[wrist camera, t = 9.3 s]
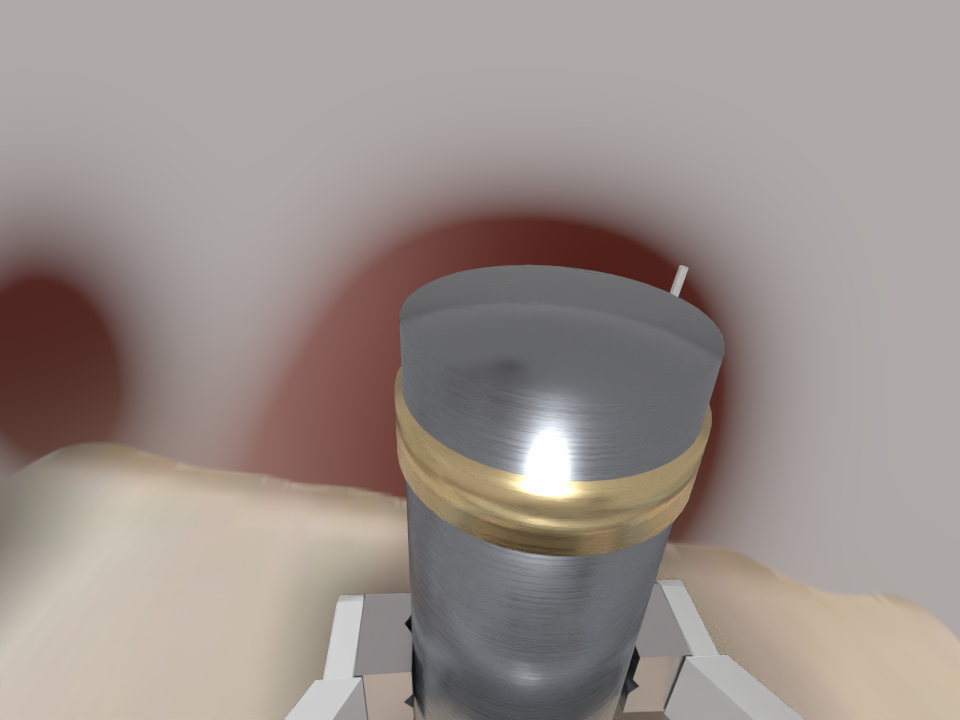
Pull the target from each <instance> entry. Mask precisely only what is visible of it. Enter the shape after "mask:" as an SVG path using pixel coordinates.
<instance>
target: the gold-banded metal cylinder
mask: <svg viewBox="0 0 960 720" xmlns="http://www.w3.org/2000/svg"><path fill="white" fill-rule="evenodd" d="M399 316H400V344H401V366H400V368H399V370H398V372H397V376H396V379H395V409H396V410H395V411H396V431H397V452H398V459H399V463H400V467H401V470H402V472H403V475H404V477H405V479H406V494H407V520H408V545H409V570H410V595H411V620H412V639H413V657H414V670H413V671H414V683H415V720H613V717H614V714H615V711H616V707H617V704H618V701H619V698H620V694H621V691H622V688H623V684H624V681H625V678H626V675H627V671H628V668H629V665H630V661H631V658H632V655H633V651H634V648H635V645H636V642H637V638H638V635H639V632H640V628H641V625H642V622H643V619H644V615H645V612H646V609H647V605H648V602H649V599H650V596H651V592H652V589H653V586H654V582H655V579H656V576H657V572H658V569H659V566H660V563H661V559H662V556H663V553H664V549H665V546H666V543H667V540H668V536H669V533H670V530H671V526H672V523H673V521H674V520H675V519H676V518H677V516H678V515H679V514H680V513H681V512H682V510H683V508H684V507H685V505H686V503H687V501H688V499H689V496H690V493H691V490H692V487H693V484H694V481H695V478H696V475H697V471H698V468H699V465H700V462H701V459H702V455H703V452H704V449H705V446H706V442H707V440H708V436H709V433H710V429H711V425H712V413H711V409H710V405H709V401H710V398H711V395H712V391H713V388H714V385H715V382H716V378H717V375H718V372H719V368H720V365H721V362H722V359H723V355H724V352H725V345H724V340H723V337H722V334H721V332H720V330H719V329H718V328H717V326H716V325H715V323H714V322H713V321H712V320H711V319H710V318H709V317H707V315H705V314H704V313H703V312H701V311H700V310H699V309H697V308H696V307H694V306H693V305H691V304H690V303H688V302H686V301H685V300H683V299H681V298H679V297H677V296H675V295H673V294H671V293H668V292H666V291H663V290H661V289H659V288H656V287H653V286H650V285H647V284H645V283H641V282H638V281H635V280H631V279H628V278H624V277H620V276H616V275H612V274H607V273H602V272H597V271H590V270H584V269H577V268H568V267H558V266H541V265H539V266H538V265H511V266H496V267H486V268H479V269H472V270H468V271H463V272H458V273H454V274H451V275H447V276H444V277H441V278H439V279H436V280H434V281H432V282H429V283H427V284H425V285H423V286H422V287H420V288H419V289H417V290H416V291H414V292H413V293H412V294H411V295H410V296H409V297H408V298H407V299H406V301H405V302H404V304H403V306H402V308H401V311H400V314H399Z"/></svg>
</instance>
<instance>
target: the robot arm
mask: <svg viewBox="0 0 960 720" xmlns="http://www.w3.org/2000/svg"><path fill="white" fill-rule="evenodd" d="M413 670H414V657H413V639H412V620H411V595H410V593H386V594H352V595H340V596H339V599H338V601H337V604H336V610H335V615H334V621H333V626H332V632H331V637H330V643H329V648H328V653H327V659H326V664H325V670H324V675H323V679H318V680H314V682H313V683H312V684H311V685H310V687H309V688H308V689H307V691H306V692H305V693H304V694H303V696H302V697H301V698H300V699H299V701H298V702H297V703H296V704H295V706H294V707H293V708H292V710H291V711H290V712H289V713H288V715H287V716H286V717H285V718H284V720H414V707H415V683H414V671H413ZM619 702H620V705H621V709H622V712H623V713H628V712H652V711H665V712H664V714H665V715H666V716H667V717H668V719H669V720H805V719H804V718H802V717H801V716H800V715H799V714H798V713H796V712H795V711H794V710H793V709H792V708H790V707H789V706H788V705H787V704H786V703H784V702H783V701H782V700H781V699H780V698H778V697H777V696H776V695H775V694H774V693H772V692H771V691H770V690H769V689H768V688H766V687H765V686H764V685H763V684H762V683H760V682H759V681H758V680H757V679H756V678H754V677H753V676H752V675H751V674H750V673H748V672H747V671H746V670H745V669H744V668H742V667H741V666H740V665H739V664H738V663H736V662H735V661H734V660H733V659H732V658H730V657H729V656H728V655H727V654H719V652H718V650H717V648H716V646H715V644H714V643H713V641H712V639H711V637H710V635H709V633H708V631H707V629H706V627H705V625H704V623H703V621H702V619H701V617H700V615H699V613H698V611H697V609H696V607H695V605H694V603H693V601H692V599H691V597H690V595H689V593H688V592H687V590H686V588H685V586H684V584H683V583H682V582H681V581H680V580H678V579H670V580H656V581H655V582H654V586H653V589H652V592H651V596H650V599H649V602H648V605H647V609H646V612H645V615H644V619H643V622H642V625H641V628H640V632H639V635H638V638H637V642H636V645H635V648H634V651H633V655H632V658H631V661H630V665H629V668H628V671H627V675H626V678H625V681H624V684H623V688H622V691H621V694H620V698H619Z"/></svg>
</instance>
